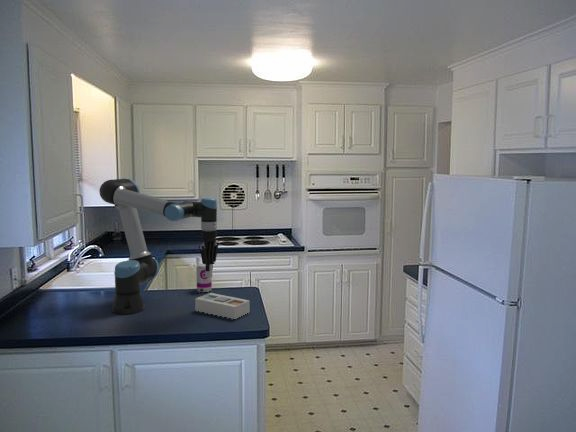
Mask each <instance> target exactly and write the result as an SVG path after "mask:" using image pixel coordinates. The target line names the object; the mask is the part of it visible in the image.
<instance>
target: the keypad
mask: <svg viewBox="0 0 576 432" xmlns="http://www.w3.org/2000/svg"><path fill="white" fill-rule="evenodd" d="M207 297H213V298H214V299H216V298H219V297H226V298H230V300H229V301H226V302H224V303H223V302H218V301H214V299H211V300H209V299H204V298H207ZM194 302H195V303H194V304H195V305H194V306H195V308H194V310H195V312H198V311H199V312H198V313H202V312H204V313H203V314H207V313H208V314H207V315H211V314H213V316H215V315H217V316H216V317H220V316H222V317H221V318H224V317H227V318H226V319H229V318H231V319H230V320H233V319H236V320H237V318H238V319H240V318H242V317H244V316H246V315H248V314H250V313H249V312H251V311H250V302H251V301H250V300H249V299H244V298H239V297H234V296H228V295H223V294H218V293H214V292H208V293H206V294H204V295H202V296H198V297H196V298H195V300H194ZM233 302H237V303H242V304H239V305H233V304H231V303H233ZM247 313H248V314H247ZM245 314H246V315H245ZM243 315H244V316H243ZM241 316H242V317H241ZM239 317H240V318H239Z"/></svg>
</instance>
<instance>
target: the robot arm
mask: <svg viewBox="0 0 576 432" xmlns="http://www.w3.org/2000/svg"><path fill="white" fill-rule="evenodd" d="M98 192H99V197H100V198H101V199H102V200H103V201H104V202H105V203H107V204H112V205H114V208H115V209H117V210H118V212H119V216H120V218H121V219H120V220H121V225H122V227H123V231H124V235H125V239H126V243H127V246H128V247H127V248H128V249H129V254H130V256H129V258H128V260H123V261H120V262H118V263H116V265H115V267H114V287H115V297H114V299H113V304H112V305H111V312H113V313H114V314H118V315H129V314H137V313H139V312H142V311H144V310H145V302H144V300H143V299H144V298H143V297H142V294H141V285H142V284H144V283H146V282H150V281H152V280H153V279H155V278H156V277H157V276H158V274H159V271H160V265H159V261H158V260H157V259H155V258H154V257H153V255H152V252H149V250H148V247H147V244H146V240H145V235H144V232H143V227H142V224H141V220H140V216H139V212H138V210H140V211H143V212H147V213H152V214H153V215H154V214H155V215H157V216H161V217H165V218H166V219H167V220H168V221H171V222H178V221H180V220H183V219H188V218H200V221H201V222H200V229H201V231H200V232H201V233H200V237H201V239H202V241H201V244H200V245H198V248H199V250H200V257H201V258H200V259H201V262H202V263H201V264H205V265H206V277H208V278H212V279H213V270H214V269H213V268H214V265H215V263H216V261H217V256H218V248H219V246H220V242H218V241H217V240H216V239H217V237H218V230H217V226H218V225H217V222H218V219H217V218H218V217H217V216H218V213H217V212H218V211H217V210H218V206H217V205H218V204H217V199H216V198H212V197H203V198H201V199H200V201H188V200H186V201H183V200H181V201H179V203H177V202H172V201H170V200H165V199H162V198H159V197H155V196H151V195H148V194H144V193H140V188H139V185H138V184H137V182H136V181H134V180H133V179H131V178H118V179H117V178H115V179H107V180H105V181H103V183H102V184H101V185H100V187H99V191H98Z"/></svg>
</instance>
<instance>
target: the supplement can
mask: <svg viewBox="0 0 576 432" xmlns="http://www.w3.org/2000/svg"><path fill="white" fill-rule="evenodd" d="M212 279H213V277H212V278H208V277H206V265H205V264H203V263H199V264H197V267H196V291H197V292H198V293H200V292H208V293H210V292H212V291H213V290H212V288H213V287H212V286H213V285H212V284H213V283H212ZM209 291H210V292H209Z"/></svg>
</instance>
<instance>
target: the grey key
mask: <svg viewBox="0 0 576 432" xmlns="http://www.w3.org/2000/svg"><path fill="white" fill-rule="evenodd" d="M229 300H230V298H226V297H219V298H216V299H214V301H218V302H223V303H224V302H226V301H229Z"/></svg>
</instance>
